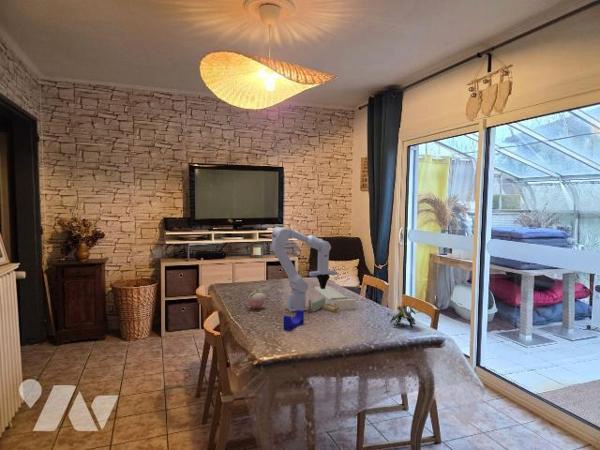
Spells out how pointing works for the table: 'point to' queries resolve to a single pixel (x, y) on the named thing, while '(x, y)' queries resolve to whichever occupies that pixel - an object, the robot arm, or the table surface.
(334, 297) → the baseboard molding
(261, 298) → the decorative fruit
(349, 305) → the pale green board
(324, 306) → the doorstop block
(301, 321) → the blue u-shaped block
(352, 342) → the table surface
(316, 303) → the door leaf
